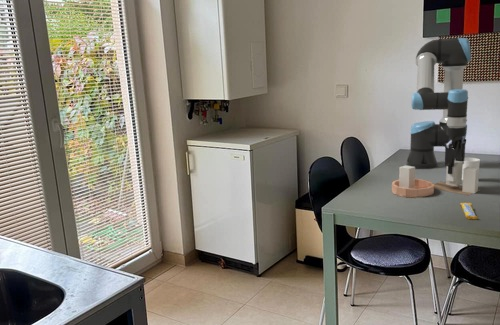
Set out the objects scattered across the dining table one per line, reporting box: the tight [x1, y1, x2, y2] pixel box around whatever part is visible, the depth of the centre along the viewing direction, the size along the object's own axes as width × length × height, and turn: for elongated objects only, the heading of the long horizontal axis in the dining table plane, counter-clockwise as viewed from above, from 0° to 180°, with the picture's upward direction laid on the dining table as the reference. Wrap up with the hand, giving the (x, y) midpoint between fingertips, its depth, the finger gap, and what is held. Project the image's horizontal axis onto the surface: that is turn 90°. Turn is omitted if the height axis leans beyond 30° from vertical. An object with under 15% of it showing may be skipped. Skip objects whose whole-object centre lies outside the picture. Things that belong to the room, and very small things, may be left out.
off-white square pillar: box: [462, 167, 480, 194], centre depth 192 cm, size 4×5×10 cm
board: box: [434, 181, 483, 196], centre depth 198 cm, size 12×19×1 cm, turn 38°
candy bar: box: [459, 202, 479, 220], centre depth 170 cm, size 17×4×2 cm, turn 162°
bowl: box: [391, 178, 435, 199], centre depth 197 cm, size 17×17×4 cm
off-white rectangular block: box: [445, 161, 463, 186], centre depth 197 cm, size 4×5×10 cm
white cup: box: [462, 157, 481, 181], centre depth 210 cm, size 8×8×10 cm
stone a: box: [398, 164, 416, 189], centre depth 199 cm, size 4×5×10 cm
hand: (453, 179), depth 198 cm, fingers closed on off-white rectangular block, 4 cm apart
